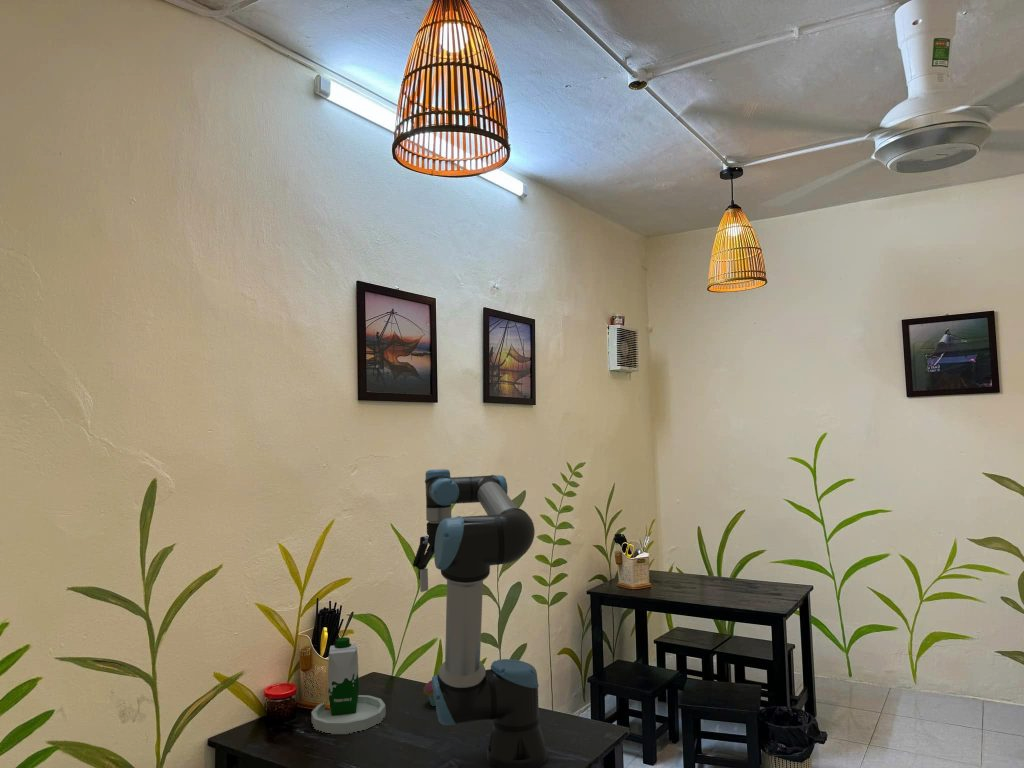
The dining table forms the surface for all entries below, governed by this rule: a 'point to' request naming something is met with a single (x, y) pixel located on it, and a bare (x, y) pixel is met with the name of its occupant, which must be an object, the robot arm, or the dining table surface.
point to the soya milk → (343, 677)
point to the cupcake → (429, 692)
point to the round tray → (350, 717)
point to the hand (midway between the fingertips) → (441, 593)
